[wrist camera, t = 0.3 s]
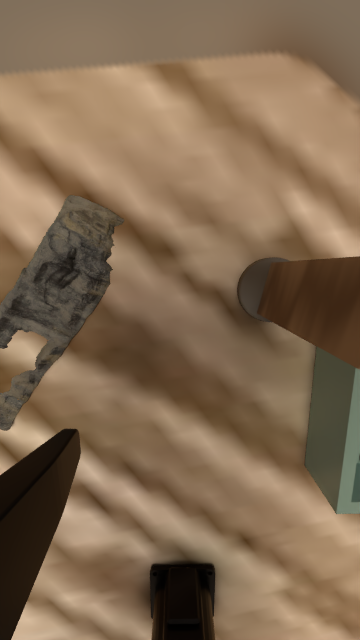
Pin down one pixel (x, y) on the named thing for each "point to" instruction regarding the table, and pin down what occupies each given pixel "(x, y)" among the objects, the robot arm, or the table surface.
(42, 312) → the driftwood
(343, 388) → the green square tray
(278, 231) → the table surface
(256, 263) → the brown tower block
